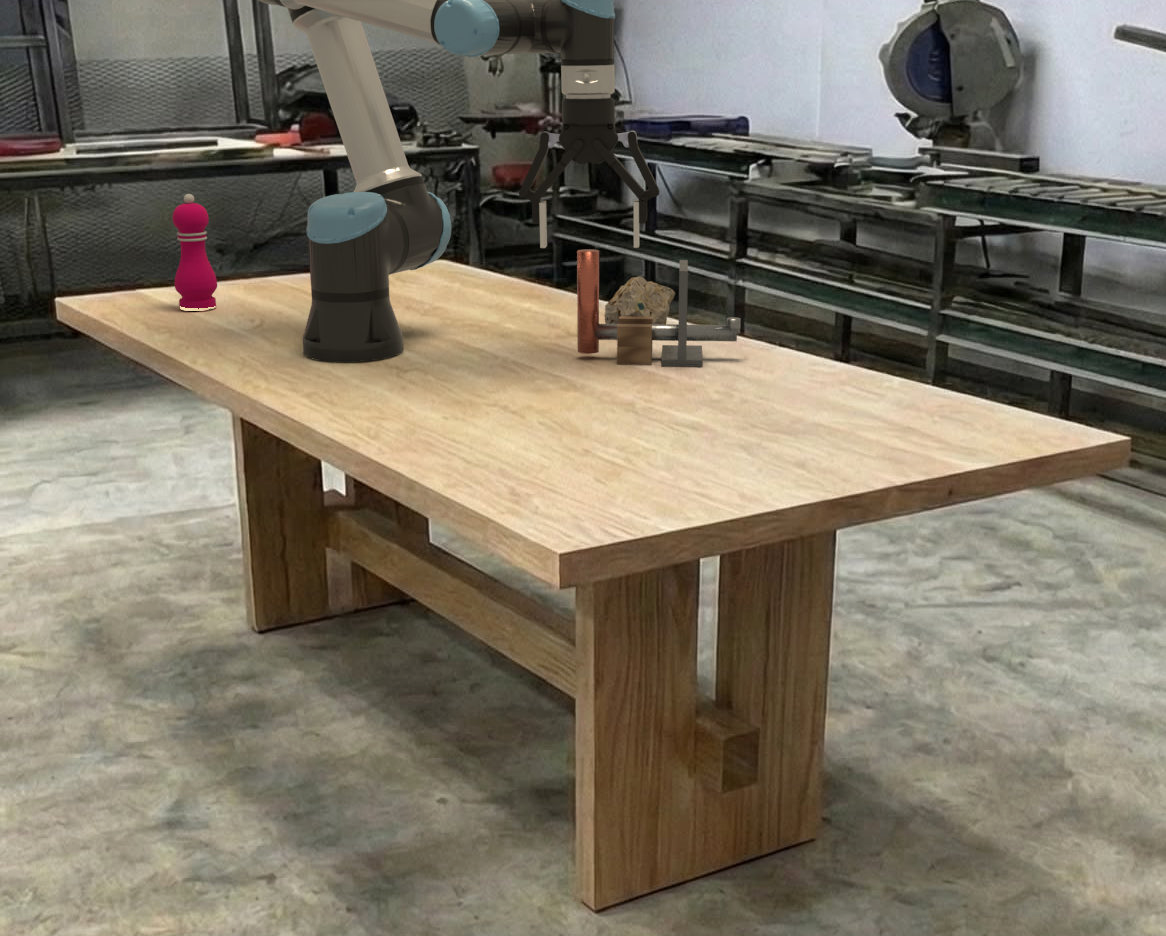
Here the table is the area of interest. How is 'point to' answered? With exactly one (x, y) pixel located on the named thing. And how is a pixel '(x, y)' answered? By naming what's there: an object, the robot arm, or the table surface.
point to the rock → (640, 301)
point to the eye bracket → (682, 332)
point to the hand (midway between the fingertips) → (590, 246)
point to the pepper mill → (193, 257)
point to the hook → (593, 331)
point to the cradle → (634, 340)
